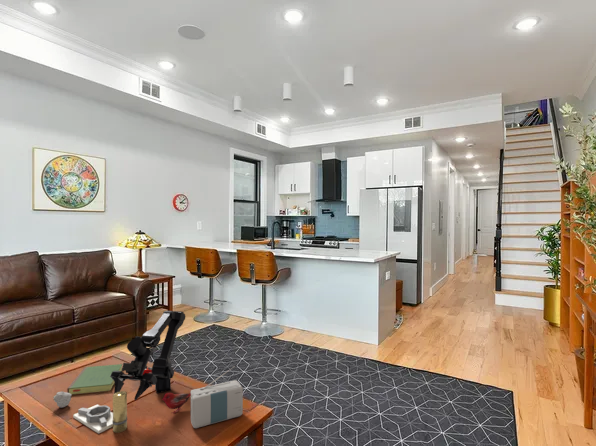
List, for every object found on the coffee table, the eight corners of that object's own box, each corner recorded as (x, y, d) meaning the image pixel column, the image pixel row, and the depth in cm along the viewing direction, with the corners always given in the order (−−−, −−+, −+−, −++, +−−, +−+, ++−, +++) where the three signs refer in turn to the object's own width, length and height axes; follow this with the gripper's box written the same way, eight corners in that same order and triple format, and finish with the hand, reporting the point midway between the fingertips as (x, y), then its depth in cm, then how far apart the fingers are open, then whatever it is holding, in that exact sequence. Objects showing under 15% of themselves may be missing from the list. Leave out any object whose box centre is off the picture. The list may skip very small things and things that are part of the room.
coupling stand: (97, 407, 158) (97, 398, 158) (123, 421, 147) (122, 412, 147) (73, 417, 150) (73, 408, 150) (98, 433, 139) (98, 424, 139)
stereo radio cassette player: (193, 431, 141) (193, 381, 140) (189, 421, 148) (189, 373, 148) (243, 417, 151) (243, 371, 150) (237, 408, 158) (237, 363, 158)
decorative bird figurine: (160, 417, 151) (159, 393, 150) (196, 401, 164) (196, 379, 164) (163, 419, 149) (163, 396, 148) (199, 403, 162) (199, 381, 162)
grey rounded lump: (51, 407, 157) (51, 392, 157) (69, 401, 163) (69, 386, 163) (55, 412, 153) (55, 396, 153) (73, 406, 159) (73, 390, 158)
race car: (129, 381, 184) (129, 373, 184) (130, 376, 189) (130, 369, 189) (157, 376, 189) (157, 369, 189) (156, 372, 194) (156, 365, 194)
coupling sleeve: (127, 423, 146) (127, 390, 145) (127, 430, 141) (127, 395, 141) (112, 427, 143) (112, 392, 143) (112, 434, 139) (112, 398, 138)
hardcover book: (84, 374, 192) (84, 367, 192) (122, 370, 197) (122, 363, 196) (66, 397, 168) (66, 389, 168) (110, 392, 172) (110, 384, 172)
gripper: (112, 351, 152) (94, 389, 141) (153, 354, 149) (137, 393, 138) (124, 362, 159) (107, 399, 149) (163, 365, 157) (148, 403, 146)
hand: (124, 398), depth 145 cm, fingers open, 9 cm apart
